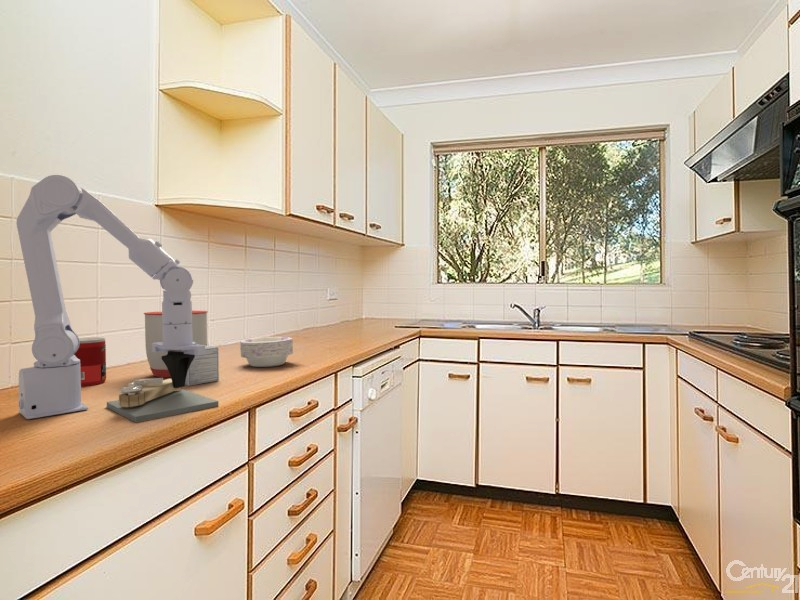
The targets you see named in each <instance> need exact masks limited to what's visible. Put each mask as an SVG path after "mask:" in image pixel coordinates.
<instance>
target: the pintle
mask: <svg viewBox="0 0 800 600" xmlns="http://www.w3.org/2000/svg"><path fill="white" fill-rule="evenodd" d="M140 391H142V386H135V383H133V382H127V386H125V387H124V386H123V387H121V388H120V394H122V393H128V395H134V394H135V392H140ZM133 407H136V406H133ZM133 407H128V408H133Z"/></svg>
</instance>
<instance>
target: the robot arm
mask: <svg viewBox="0 0 800 600" xmlns="http://www.w3.org/2000/svg"><path fill="white" fill-rule="evenodd" d="M75 215H77V216H78V217H79V218H80V219H84V220H87V221H92V222H94V223H95V222H96V224H98V225H99V226H100V227H101V228H103V229H104V230H105V231H106V232H107V233H109V234H110V235H112V236H113V238H115V239H116V240H117V241H118V242H120V243H121V244H122V245H123V246H124V247H126V248H127V249H128V259H129V260H131V262H132V263H134V264H135V265H136V266H138V268H140V269H141V270H143V272H145V273H146V274H147V275H148V276H149V277H150V278H151V279H152V280H158V281H159V283H160V284H159V285H160V287H161V288H162V289H163V290H162V293H163V296H162V297H163V298H162V302H161V312H162V327H163V342H157V343H152V352H168V354H167V355H165V356H162V360H163V362H164V363H165V365H166V367H167V368H168V371H169V373H170V376H171V378H170V379H172V384H173V387H174V388H180V387H182V388H183V387H185V386H186V385H185V381H186V376H187V372H188V369H189V367H190V364H191V362H192V361H193V359H194V357H195V355H196V356H199V355H205V354H206V352H205V345H199V344H196V342H193V337H192V311H193V304H192V303H193V302H192V300H191V298H192V292H191V288H192V286H193V284H194V279H193V277H192V275H191V273H190V271H188V270H187V268H185V267H182V266H179V265H180V263H181V261H180V260H179V259H174V258H173V257H172V256H171V255H170V254H168V253H167V252H166V251H165V250H164V249H163V248H162V246H163V244H162V243H161V242H160V241H158V240H156V241H154V240H153V239H151V238H140V237H139V236H138V234H136V233H135V231H133V230H132V229H131V228H130V227H129V226H127V224H125V222H123V221H122V219H120V218H119V217H118V216H117V215H116V214H115V213H114V212H113V211H112V210H110V208H108V207H107V206H106V205H105V204H104V203H103V202H102V201H100V199H98V198H97V197H95V196H94V195H93V194H91V193H90V192H89V191H87V190H86V189H84V188H83V187H80V189H79V187H78V185H77V184H76V182H74V181H73V179H71V178H69V177H67V176H65V175H62V174H61V175H60V174H50V175H48V176H45V177H44V178H43V179H41V180H40V181H38V182H37V183H36V184H34V185H33V186H32V187H31V188H30V192H29V195H28V197H27V199H26V201H25V203H24V205H23V207H22V208H21V210H20V212H19V214H18V216H17V218H16V228H17V232H18V237H19V243H20V247H21V253H22V258H23V262H24V263H23V264H24V268H25V272H26V273H25V274H26V278H27V283H28V287H29V292H30V298H31V303H32V308H33V312H34V326H33V331H34V335H35V336H34V340H33V342H32V345H31V352H32V353H31V354H32V355H33V358H35V360H36V361H35V362H33V366H31V367H24V368H20V370H19V372H18V408H19V409H18V412H19V414H20V415H22V416H23V417H24V418H25V419H26V420H33V419H37V418H43V417H44V418H45V417H50V416H56V415H62V414H67V413H74V412H80V411H86V410H88V409H89V406H88V405H86V404H84V403H83V402H82V386H81V371H80V359H78V358H77V357H76V356H75V355H74V354H75V353H76V351H77V350H78V348H79V345H80V341H79V338H80V337H79V336H78V334H77V333H76V332H75V331H74V330H73V328H72V325H71V320H70V318H69V316H68V313H67V309H66V304H65V299H64V295H63V289H62V285H61V284H62V283H61V280H60V274H59V269H58V264H57V260H56V253H55V248H54V243H53V238H52V231H53V230H54V229H55V228H57V226H58V225H59V224H61V222H62V221H64V220H66V219H68V218H71V217H73V216H75ZM179 350H181V351H179ZM180 389H181V388H180Z"/></svg>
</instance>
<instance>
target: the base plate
mask: <svg viewBox="0 0 800 600" xmlns="http://www.w3.org/2000/svg"><path fill="white" fill-rule="evenodd" d="M215 407H217V408H218V407H219V400H216V399H213V398H211V397H208V396H205V395H202V394H199V393H195V392H192V391H190V390H187V389H178V390H175V391H173V392H170V393H168V394H165V395H162V396H160V397H157V398H155V399H152V400H150V401H147V402H145V403H144V404H142V405H138V406H136V407H133V408H128V407H120V406H119V399H117V400H116V399H115V400H112V401H106V408H108V409H110V410H111V411H113V412H115V413H117V414H118V415H121V416H122V417H125V418H126V419H128V420H129V421H132V422H134V423H140V422H145V421H150V420H155V419H160V418H165V417H166V418H167V417H169V416H170V417H171V416H175V415H181V414H185V413H190V412H195V411H200V410H205V409H210V408H215Z"/></svg>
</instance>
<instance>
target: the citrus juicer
mask: <svg viewBox="0 0 800 600" xmlns="http://www.w3.org/2000/svg"><path fill="white" fill-rule="evenodd" d="M208 313H209V312H208V310H192V337H193V342H196V344H199V345H205V346H208ZM143 315H144V334H145V335H144V336H145V337H144V341H145V352H146V360H147V362H148V364H149V369H150V372H151V374H152V376H154V377H156V378H163V379H171V376H170V373H169V371H168V368H167V367H166V365H165V363H164V362H163V360H162V356H165V355H167V354H168V352H152V343H157V342H163V327H162V311H147V312H144V313H143ZM179 351H180V350H179Z"/></svg>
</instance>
